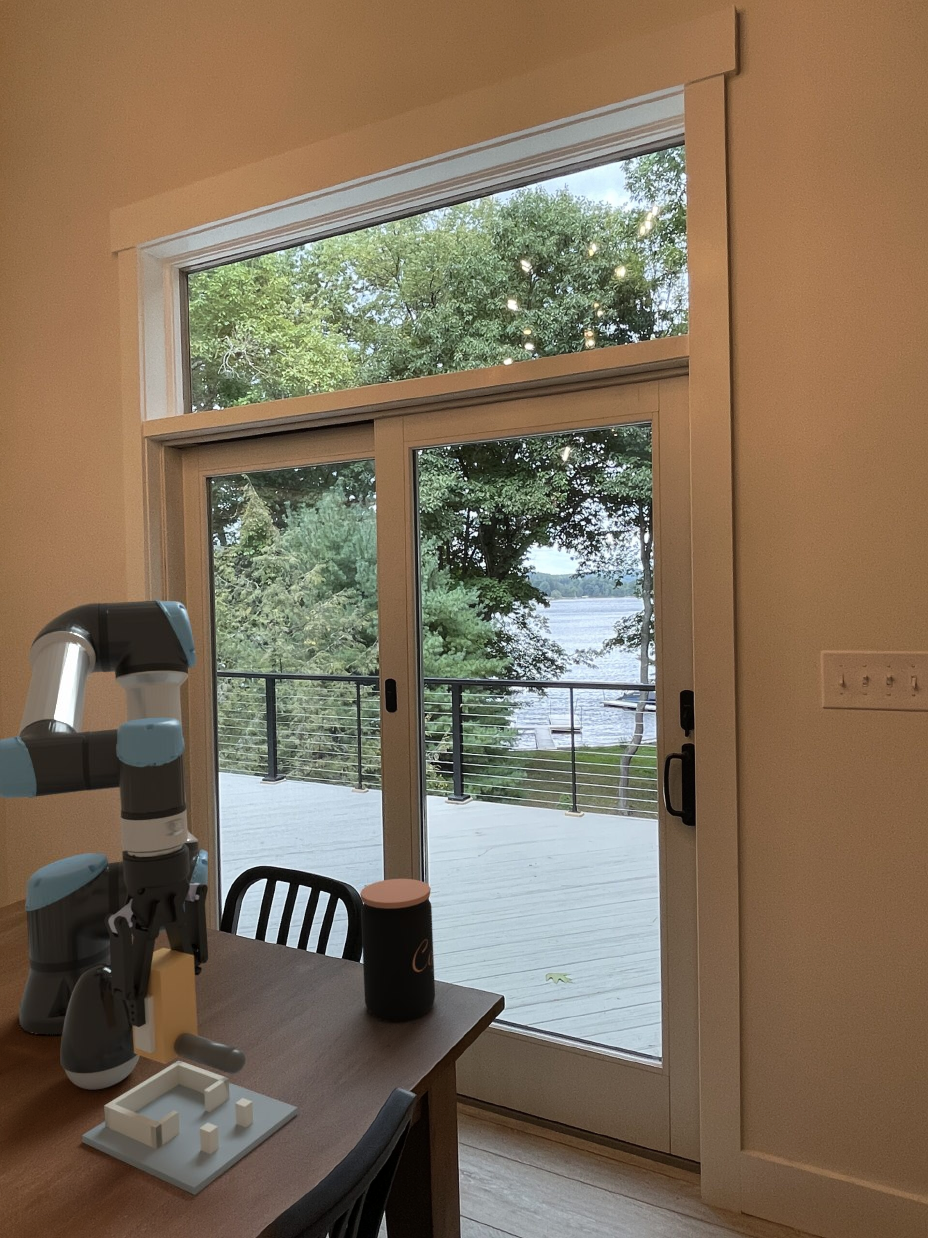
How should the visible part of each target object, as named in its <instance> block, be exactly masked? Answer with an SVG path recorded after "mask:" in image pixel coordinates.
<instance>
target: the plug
mask: <svg viewBox="0 0 928 1238" xmlns="http://www.w3.org/2000/svg"><path fill="white" fill-rule="evenodd" d="M195 983H196V975H195V970H194V955H190V954H186V953H182V952H178V951H175V950H171V948H166V947H161V948H159V949H157V950H155V951H153V958H152V965H151V971H150V978H149V984H148V991H147V994H148V995H152V996H153V1003H154V1023H155V1043H156V1051H154V1052H152V1053H148V1052H146V1051H143V1050H140V1049H137V1048H136V1047H135V1028H134V1026H133V1042H134V1053H135V1054H137V1055H140V1056H141V1057H144V1058H147V1059H148V1060H151V1061H154V1062H158V1063H160V1064H163V1065H166V1064H168V1063H170V1062H171V1061H172V1060H175V1059H176V1058H178V1057H181V1058H184V1059H186V1060H189V1061H192V1062H195V1063H198V1064H200V1065H204V1066H206V1067H210V1068H212V1069H216V1070H218V1071H221V1072H224V1073H227V1074H230V1075H235V1074H238V1073H240V1072H241V1071H242V1070H243V1068H244V1067H245V1065H246V1055H245V1052H243V1051H242V1050H241V1049H240V1048H236V1047H233V1046H231V1045H227V1044H224V1043H221V1042H219V1041H216V1040H215V1041H214V1040H212V1039H209V1038H206V1037H204V1036H200V1035H199V1034H198V1033H199V1032H198V1031H199V1030H198V1016H197V1014H198V1013H197V1011H198V1010H197V989H196V990H195V985H196V984H195ZM140 1056H139V1057H140Z"/></svg>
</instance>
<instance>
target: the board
mask: <svg viewBox="0 0 928 1238" xmlns="http://www.w3.org/2000/svg"><path fill="white" fill-rule="evenodd" d="M103 1108H104V1120H103V1122H101V1123H100V1124H98V1125H96V1126H95V1127H93V1128H91V1129H90V1130H88V1131H86V1132H85V1133H84V1134H82V1135H81V1140H82V1144H83V1143H84V1144H86V1145H87V1146H90V1147H92V1148H94V1149H96V1150H98V1151H100V1152H103V1153H105V1154H107V1155H108V1156H111V1157H113V1158H115V1159H117V1160H119V1161H121V1162H124V1163H126V1164H128V1165H130V1166H132V1167H135V1168H137V1169H138V1170H141V1171H143V1172H145V1173H147V1174H149V1175H151V1176H153V1177H156V1178H158V1179H159V1180H161V1181H164V1182H166V1183H169V1184H170V1185H172V1186H175V1187H177V1188H179V1189H181V1190H183V1191H186V1192H187V1193H189V1194H192V1195H193V1196H196V1195H197V1194H198V1193H200V1192H201V1191H202V1190H203V1189H205V1188H206V1187H207V1186H208V1185H210V1184H211V1183H212V1182H213V1181H215V1180H216V1179H217V1178H218V1177H220V1176H221V1175H223V1174H224V1173H225V1172H226V1171H228V1170H229V1169H230V1168H231V1167H232V1166H234V1165H235V1164H236V1163H238V1162H239V1161H240V1160H241V1159H243V1158H244V1157H245V1156H246V1155H247V1154H249V1153H250V1152H252V1151H253V1150H254V1149H255V1148H257V1147H258V1146H259V1145H260V1144H261V1143H264V1141H266V1139H268V1138H269V1137H271V1135H273V1134H274V1133H276V1132H277V1131H278V1130H279V1129H281V1128H282V1127H284V1125H286V1124H287V1123H288V1122H289V1121H291V1120H292V1119H293V1118H294V1117H296V1116H297V1115H299V1112H298V1111H299V1110H298V1109H299V1108H298V1106H294V1105H292V1104H289V1103H287V1102H284V1101H282V1100H280V1099H279V1100H278V1099H275V1098H273V1097H269V1096H267V1095H265V1094H262V1093H259V1092H256V1091H253V1090H250V1089H247V1088H246V1087H243V1086H240V1085H237V1084H233V1083H231V1082H230V1079H229V1078H228V1077H227V1076H223V1075H220V1074H219V1073H218V1074H217V1073H216V1072H212V1071H209V1070H207V1069H203V1068H201V1067H199V1066H195V1065H192V1064H191V1063H187V1062H184V1061H181V1060H177V1061H175V1062H174V1063H172V1064H170V1065H169V1066H167V1067H166V1068H163V1069H162V1070H161V1071H159V1072H158V1073H156V1074H154V1075H152V1076H151V1077H149V1078H148V1079H145V1081H142V1082H141V1083H139V1084H138V1085H136V1086H135V1087H132V1088H130V1089H129V1090H128V1091H126V1092H124V1093H122V1094H121V1095H120V1096H118V1097H116V1098H114V1099H112V1101H109V1102H108V1103H106V1104H105V1105H104V1106H103Z"/></svg>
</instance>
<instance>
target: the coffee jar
mask: <svg viewBox="0 0 928 1238" xmlns="http://www.w3.org/2000/svg"><path fill="white" fill-rule="evenodd" d="M359 895H360V899H361V902H362V903H363V904H362V907H361V909H360V916H361V917H360V918H361V919H360V920H361V939H362V942H361V944H362V967H363V968H362V969H363V988H364V991H363V992H364V1003H365V1006H366V1008H367V1010H368V1011H369V1012H370V1014H371V1015H372V1016H373V1017H374V1018H375V1019H377V1020H380V1019H381V1020H380V1021H383V1022H388V1021H389V1023H390V1022H391V1023H404V1022H408V1020H410V1021H413V1020H415V1019H418V1018H421V1017H423V1016H424V1015H425V1014H427V1013H428V1012H429V1011H430V1009H432V1006H433V1005H434V1002H435V998H436V991H435V990H436V989H435V987H436V986H435V985H436V984H435V982H436V981H435V962H434V959H435V958H434V937H433V936H434V935H433V934H434V933H433V915H432V914H433V911H432V910H433V909H432V902H431V901H430V899H429V898H430V896H431V886H430V885H429V884H428V883H426V882H424V881H421V880H417V879H412V878H411V879H410V878H392V879H384V880H380V881H376V882H372V883H371V884H368V885H366V886H365V887H363V888H362V889H361V891H360V894H359ZM403 1021H404V1022H403Z"/></svg>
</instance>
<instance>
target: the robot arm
mask: <svg viewBox="0 0 928 1238" xmlns="http://www.w3.org/2000/svg"><path fill="white" fill-rule="evenodd" d="M30 647H31V648H30V651H29V654H28V662H29V667H30V669H31V671H32V674H31V677H30V678H31V679H30V683H29V687H28V693H27V695H26V696H27V697H26V700H25V705H24V708H23V714H22V718H21V722H20V727H19V731H18V735H15V736H12V737H8V738H3V739H0V797H1V798H2V799H13V798H14V799H15V798H17V799H18V798H28V799H33V798H36V797H44V796H52V795H60V794H68V793H69V794H70V793H75V792H84V791H97V790H99V791H100V790H108V789H109V790H110V789H119V798H120V801H119V802H120V835H121V848H122V849H121V850H122V851H121V852H122V860H121V861H115V862H109V858H108V857H107V855H106V854H105V853H100V852H95V853H93V852H89V853H82V854H77V855H72V856H69V857H66V858H62V859H59V860H56V861H54V862H52V863H49V864H46V865H45V866H42V867H41V868H39V869H37V870H36V871H35V872H34V873H33V874H31V876H30V877H29V878H28V880H27V881H26V885H25V886H26V887H25V890H26V891H25V892H26V893H25V895H26V897H25V904H24V910H25V911H26V924H27V939H28V942H27V943H28V959H29V973H28V976H27V980H26V982H25V986H24V991H23V994H22V997H21V1002H20V1004H19V1009H18V1017H19V1026H20V1025H21V1026H20V1028H21V1027H22V1028H23V1029H24V1030H26V1031H28V1032H27V1033H29V1032H33V1033H37V1034H47V1035H46V1036H56V1035H57V1034H59V1035H62V1030H63V1024H64V1019H65V1015H66V1011H67V1007H68V1003H69V1000H70V997H71V994H72V992H73V989H74V987H75V985H76V983H77V981H78V979H79V978H80V976H81V975H82V974H83V972H84V971H86V970H87V969H88V968H90V967H92V966H94V965H97V964H108V965H111V989H112V996H114V997H116V998H120V999H123V1000H126V1001H128V1005H129V1022H130V1024H131V1025H133V1026H134V1028H135V1047H136V1048H137V1049H140V1050H143V1051H146V1052H148V1053H152V1052H154V1051H156V1043H155V1023H154V1003H153V996H152V995H148V994H147V991H148V984H149V978H150V971H151V965H152V958H153V952H155V951H154V950H155V943H156V939H157V938H159V936H160V933H163V932H165V933H166V935H167V940H168V943H169V947H170V949H171V950H175V951H178V952H182V953H186V954H190V955H194V970H195V976H199V975H200V974H201V973H202V969H203V968H202V966H200V965H202V964H206V963H207V962H208V961H209V949H208V948H209V946H208V945H209V944H208V932H207V931H208V930H207V914H206V913H207V912H206V900H207V896H208V895H207V894H208V890H209V889H208V888H209V887H208V885H207V884H208V874H209V873H208V866H209V863H208V862H209V861H208V860H209V853H208V851H206V850H205V849H202V848H201V849H199V839H198V838H196V837H195V836H194V835H193V834H192V833H191V832H190V831H189V830H188V816H187V815H188V814H187V800H186V799H187V796H186V795H187V794H186V772H185V771H186V769H185V768H186V767H185V766H186V765H185V745H186V743H185V739H184V736H183V723H182V722H183V721H182V709H181V707H182V705H181V691H180V690H181V686H182V685H183V684H184V683H185V682H186V681H187V679H189V669H190V668H193V667H196V664H197V655H196V649H195V640H194V636H193V631H192V626H191V622H190V617H189V614H188V611H187V608H186V606H185V605H184V604H183V603H182V602H180V601H176V600H175V601H174V600H171V601H170V600H159V599H154V600H148V601H147V600H146V601H145V600H143V601H142V600H141V601H127V602H126V601H125V602H104V603H103V602H101V603H100V602H93V603H87V604H81V605H78V606H76V607H73V608H71V609H67V610H66V611H64V612H62V613H61V614H59V615H58V616H55V617H54V618H53V619H52V620H50V621H49V622H48V623H47V624H46V625H45V626H44V627H43V628H41V630H40V631H39V632H38V633H37V635H36V637H35V638H34V639H33V641H32V643H31V646H30ZM92 673H115V674H114V675H115V677H114V678H115V680H114V681H115V683H116V684H117V685H119V686H120V687H121V688H122V689H123V690H124V691H125V705H126V706H125V708H126V709H125V710H126V721H125V722H122V723H121V724H120V725H119V726H118V728H116V729H115V728H114V729H106V730H105V729H104V730H94V731H92V730H91V731H90V730H89V731H82V727H83V718H84V711H85V710H84V709H85V699H86V691H87V680H88V678H89V677H90V675H92ZM195 990H196V991H197V987H196V982H195ZM22 1028H21V1029H22ZM23 1029H22V1030H23ZM24 1030H23V1031H24ZM26 1031H25V1032H26ZM37 1034H36V1035H37ZM48 1034H50V1035H48ZM51 1034H52V1035H51ZM53 1034H54V1035H53ZM55 1034H56V1035H55ZM57 1036H58V1035H57Z"/></svg>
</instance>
